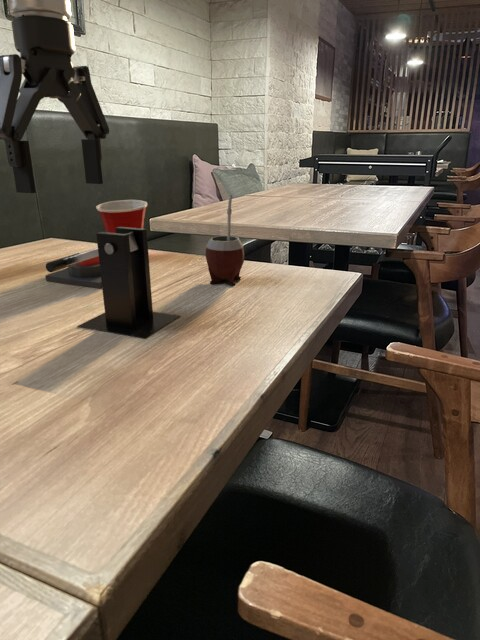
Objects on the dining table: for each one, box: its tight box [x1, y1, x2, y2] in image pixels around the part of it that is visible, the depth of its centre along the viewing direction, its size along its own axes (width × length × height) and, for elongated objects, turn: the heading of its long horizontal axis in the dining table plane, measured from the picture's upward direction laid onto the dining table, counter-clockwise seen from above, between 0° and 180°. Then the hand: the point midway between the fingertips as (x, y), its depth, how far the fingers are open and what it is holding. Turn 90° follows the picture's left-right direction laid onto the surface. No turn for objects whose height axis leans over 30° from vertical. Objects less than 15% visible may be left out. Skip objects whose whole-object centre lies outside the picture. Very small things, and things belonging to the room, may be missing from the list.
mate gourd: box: [205, 194, 246, 287], centre depth 89 cm, size 8×8×15 cm
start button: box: [77, 252, 100, 266], centre depth 89 cm, size 4×4×2 cm
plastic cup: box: [95, 199, 148, 233], centre depth 107 cm, size 11×11×12 cm
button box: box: [44, 264, 102, 290], centre depth 90 cm, size 12×10×4 cm
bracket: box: [76, 227, 181, 340], centre depth 67 cm, size 11×9×14 cm
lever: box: [45, 232, 139, 273], centre depth 67 cm, size 13×6×2 cm, turn 66°
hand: (63, 188), depth 71 cm, fingers open, 13 cm apart
